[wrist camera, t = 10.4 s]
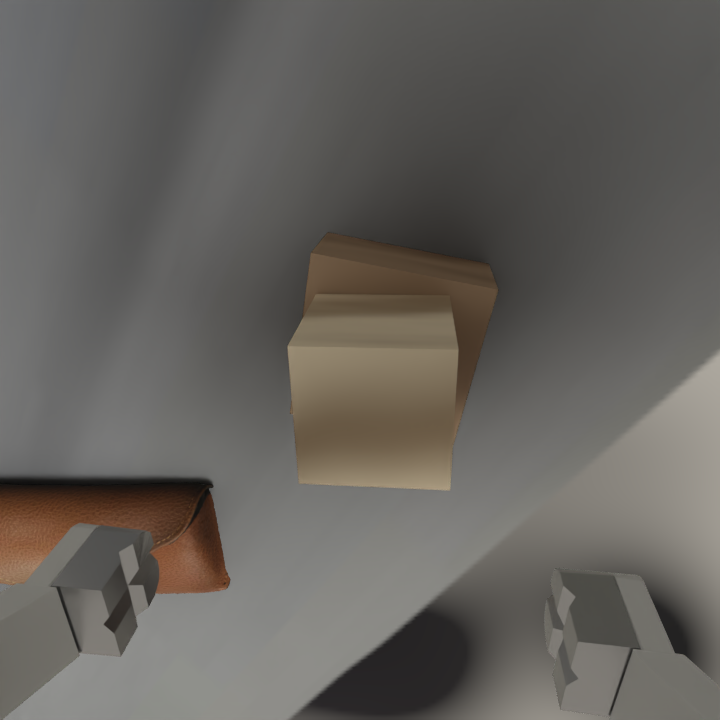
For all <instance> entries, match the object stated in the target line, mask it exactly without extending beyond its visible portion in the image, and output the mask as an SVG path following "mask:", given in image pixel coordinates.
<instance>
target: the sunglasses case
mask: <svg viewBox="0 0 720 720" xmlns="http://www.w3.org/2000/svg"><path fill="white" fill-rule="evenodd" d="M213 487H214V486H213V485H203V484H200V483H159V484H136V485H98V486H82V485H10V484H0V583H3V584H8V585H15V584H16V583H20V584H24V583H25V582H26V581H27V579H28V578H29V577H30V576H31V575H32V574H33V572H34V571H35V570H36V569H37V568H38V566H39V565H40V564H41V563H42V562H43V560H44V559H45V558H46V557H47V556H48V555H49V553H50V552H51V551H52V550H53V549H54V547H55V546H56V545H57V544H58V543H59V541H60V540H61V539H62V538H63V537H64V535H65V534H66V533H67V532H68V531H69V530H70V528H71V527H73V526H75V525H76V524H78V523H84V524H93V525H105V526H113V527H121V528H130V529H138V530H146V531H148V532H151V535H152V539H153V543H154V545H153V547H152V548H151V550H150V553H151V554H152V555H153V556H154V557H155V558H156V559H157V560H158V565H159V582H158V586H157V590H156V593H158V594H163V593H165V594H169V593H176V594H179V593H205V592H214V591H220V590H224V589H227V588H228V586H229V584H230V577H229V576H228V573H227V571H226V569H225V562H224V557H223V551H222V547H221V546H222V544H221V540H220V534H219V531H218V524H217V518H216V513H215V509H214V503H213V499H212V495H211V493H210V491H209V488H213Z"/></svg>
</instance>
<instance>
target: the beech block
mask: <svg viewBox="0 0 720 720" xmlns="http://www.w3.org/2000/svg"><path fill="white" fill-rule="evenodd" d="M287 347H288V359H289V371H290V383H291V395H292V407H293V419H294V432H295V444H296V456H297V468H298V480H299V484H318V485H341V486H363V487H385V488H407V489H430V490H450V483H451V466H452V450H453V433H454V417H455V401H456V384H457V368H458V351H459V349H458V343H457V337H456V331H455V325H454V319H453V313H452V307H451V301H450V295H371V294H316V295H315V297H314V299H313V300H312V302H311V304H310V306H309V308H308V310H307V311H306V313H305V315H304V317H303V319H302V321H301V322H300V324H299V326H298V328H297V330H296V332H295V333H294V335H293V337H292V339H291V341H290V343H289V344H288V346H287Z"/></svg>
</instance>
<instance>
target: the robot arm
mask: <svg viewBox="0 0 720 720" xmlns="http://www.w3.org/2000/svg"><path fill="white" fill-rule="evenodd" d="M153 545H154V543H153V539H152V535H151V532H148V531H146V530H138V529H130V528H121V527H113V526H105V525H93V524H84V523H78V524H76V525H75V526H73V527H71V528H70V530H69V531H68V532H67V533H66V534H65V535H64V537H63V538H62V539H61V540H60V541H59V543H58V544H57V545H56V546H55V547H54V549H53V550H52V551H51V552H50V553H49V555H48V556H47V557H46V558H45V559H44V560H43V562H42V563H41V564H40V565H39V566H38V568H37V569H36V570H35V571H34V572H33V574H32V575H31V576H30V577H29V578H28V579H27V581H26V582H25V583H24V584H20V583H16V584H15V585H13V586H11V587H9V588H7V589H6V590H4V591H2V592H0V720H2V719H3V718H5V717H6V716H7V715H8V714H9V713H11V712H12V711H13V710H14V709H16V708H17V707H18V706H19V705H20V704H22V703H23V702H24V701H25V700H26V699H28V698H29V697H30V696H31V695H33V694H34V693H35V692H36V691H37V690H39V689H40V688H41V687H42V686H43V685H45V684H46V683H47V682H48V681H50V680H51V679H52V678H53V677H54V676H56V675H57V674H58V673H59V672H60V671H62V670H63V669H64V668H65V667H67V666H68V665H69V664H70V663H71V662H73V661H74V660H75V659H76V658H77V657H79V653H83V654H94V655H106V656H117V657H121V656H122V654H123V652H124V651H125V649H126V647H127V645H128V643H129V642H130V640H131V638H132V636H133V634H134V633H135V631H136V629H137V627H138V625H137V620H136V616H137V615H138V614H140V613H141V612H143V611H144V610H146V609H147V608H148V607H149V606H150V604H151V602H152V600H153V598H154V596H155V593H156V590H157V586H158V582H159V565H158V560H157V559H156V558H155V557H154V556H153V555H152V554H151V553H150V550H151V548H152V547H153ZM551 586H552V591H553V595H552V596H550V597H549V598H548V599H547V602H546V608H545V622H544V627H545V637H546V643H547V648H548V652H549V653H550V654H551V655H552V656H553V657H554V658H555V660H556V662H555V666H554V671H553V677H554V683H555V688H556V692H557V697H558V702H559V706H560V710H565V711H572V712H578V713H586V714H592V715H599V716H606V717H610V720H720V687H719V686H718V685H717V684H716V683H715V682H714V681H713V680H712V679H710V678H709V677H708V676H707V675H706V674H705V673H704V672H703V671H701V670H700V669H699V668H698V667H697V666H696V665H695V664H694V663H693V662H691V661H690V660H689V659H688V658H687V657H686V656H685V655H681V654H675V652H674V650H673V648H672V646H671V643H670V641H669V639H668V636H667V634H666V632H665V629H664V627H663V625H662V623H661V620H660V618H659V616H658V613H657V611H656V609H655V606H654V604H653V602H652V600H651V597H650V595H649V593H648V590H647V588H646V586H645V583H644V581H643V579H642V578H641V577H640V576H639V575H632V574H620V573H608V572H597V571H585V570H573V569H560V568H555V570H554V572H553V574H552V578H551Z"/></svg>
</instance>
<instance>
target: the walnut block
mask: <svg viewBox="0 0 720 720" xmlns="http://www.w3.org/2000/svg"><path fill="white" fill-rule="evenodd" d="M497 293H498V287H497V285H496V282H495V279H494V277H493V274H492V271H491V269H490V266H489V264H487V263H482V262H477V261H472V260H467V259H462V258H457V257H451V256H446V255H441V254H436V253H431V252H426V251H421V250H416V249H411V248H405V247H400V246H395V245H390V244H385V243H380V242H375V241H370V240H365V239H359V238H354V237H349V236H344V235H339V234H334V233H329V232H328V233H327V234H326V235H325V236H324V237H323V239H322V240H321V241H320V242H319V243H318V245H317V246H316V247H315V248H314V250H313V251H312V252H311V255H310V263H309V270H308V278H307V286H306V293H305V301H304V309H303V316H302V319H303V317H304V315H305V313H306V311H307V310H308V308H309V306H310V304H311V302H312V300H313V299H314V297H315V295H316V294H371V295H450V301H451V307H452V313H453V319H454V325H455V331H456V337H457V343H458V349H459V351H458V368H457V384H456V401H455V417H454V433H453V444H454V441H455V437H456V434H457V430H458V427H459V424H460V420H461V417H462V413H463V410H464V406H465V403H466V400H467V396H468V393H469V389H470V386H471V382H472V379H473V375H474V372H475V369H476V365H477V362H478V358H479V355H480V351H481V348H482V345H483V341H484V338H485V334H486V331H487V327H488V324H489V321H490V317H491V314H492V310H493V307H494V303H495V300H496V297H497ZM290 414H293V407H292V401H291V409H290Z"/></svg>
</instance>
